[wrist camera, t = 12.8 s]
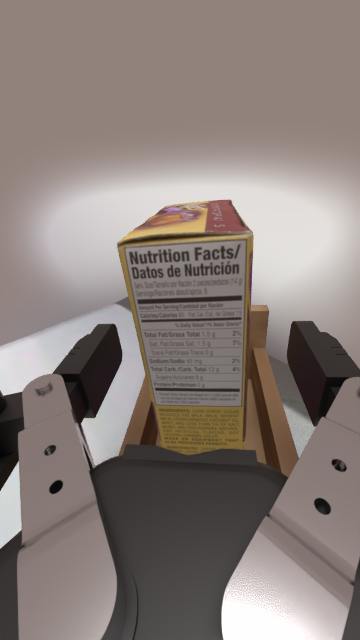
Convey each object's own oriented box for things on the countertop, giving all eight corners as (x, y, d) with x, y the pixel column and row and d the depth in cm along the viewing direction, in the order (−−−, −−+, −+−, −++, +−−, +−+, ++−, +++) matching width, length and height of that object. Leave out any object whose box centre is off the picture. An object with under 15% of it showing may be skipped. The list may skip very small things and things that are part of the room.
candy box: (183, 393, 22) (163, 203, 15) (233, 394, 22) (238, 197, 14) (166, 508, 15) (109, 234, 7) (243, 515, 14) (266, 224, 7)
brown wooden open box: (110, 587, 13) (60, 502, 9) (163, 376, 26) (152, 305, 22) (313, 614, 12) (360, 529, 8) (259, 377, 25) (266, 302, 21)
